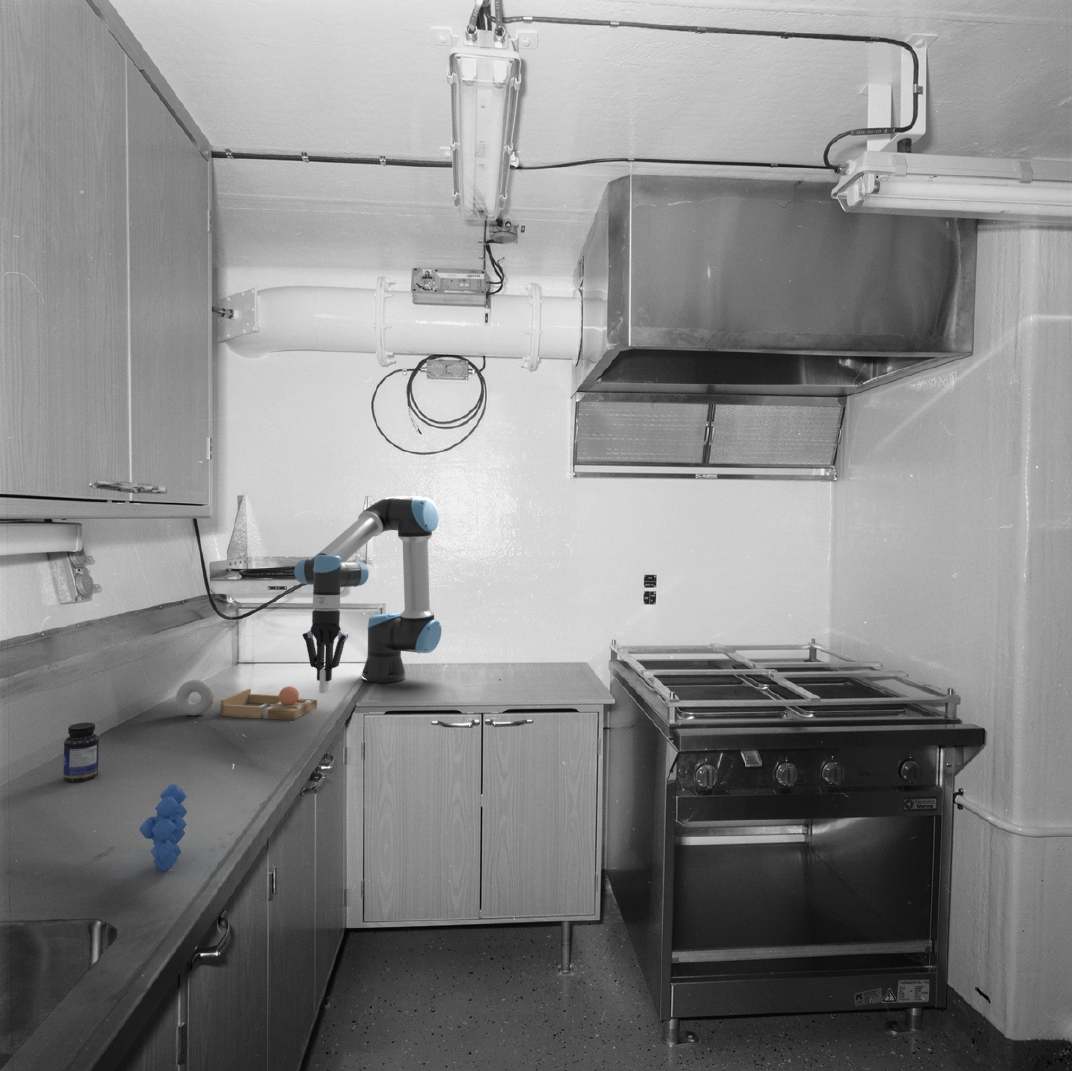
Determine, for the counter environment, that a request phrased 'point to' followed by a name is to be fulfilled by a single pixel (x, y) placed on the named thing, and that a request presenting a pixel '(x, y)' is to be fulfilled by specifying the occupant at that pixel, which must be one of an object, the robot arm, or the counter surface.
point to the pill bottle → (81, 753)
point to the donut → (185, 702)
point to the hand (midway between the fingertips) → (323, 692)
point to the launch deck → (290, 709)
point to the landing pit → (247, 704)
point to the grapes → (166, 827)
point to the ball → (288, 695)
